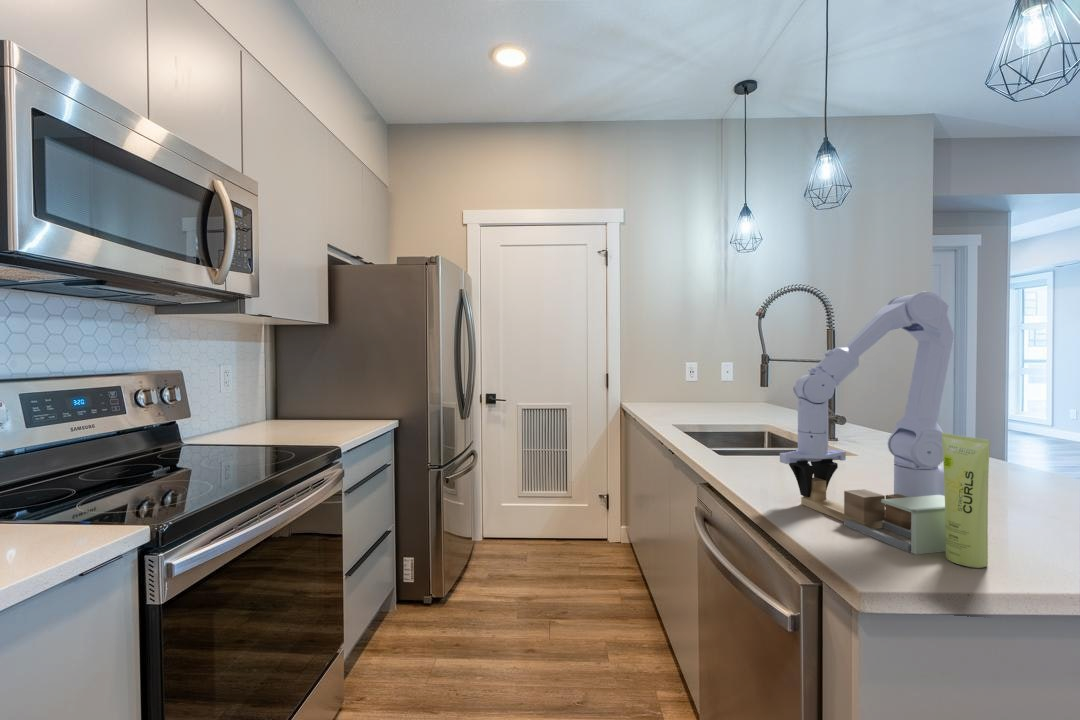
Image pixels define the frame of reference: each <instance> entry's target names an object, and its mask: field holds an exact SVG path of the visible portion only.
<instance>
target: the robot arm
mask: <svg viewBox="0 0 1080 720" xmlns="http://www.w3.org/2000/svg"><path fill="white" fill-rule="evenodd" d="M948 310H949V304H948V303H947V302H946V301H944V299H942V297H940V295H938V294H936V293H935V292H933V291H920V292H917V293H914V294H908V295H900V296H896V297H894V298H892V299H890V300H889V302H888V303H887V304H886V305H884V306H882V307H880V309H879V310H878V311H877V312H876V313H875V315H874V316H873V317H872V318H871V319H870V320H869V321H868V322H867V323H866V324H865V325H864V326H863V327H862V328H861V330H859V331H858V333H857V334H855V335H854V336H853V338H852V339H851V340H850V341H849V342H848V343H847V344H846V345H845V346H844V347H843V346H841V347H838V346H837V347H834V348H833V349H828V350H826V351H825V352H824V355H825V356H824V357H823V359H822V360H820V361H819V362H818V363H817V364H816V365H815V366H814V367H813V366H812V367H810V368H809V369H808V372H809V374H805V375H804V374H803V375H802V376H800V377H799V378H798V379H797V380H796V381H795V385H794V386H793V387H792V390H793V393H794V395H795V396H796V397H797V448H796V450H793V451H787V452H780V453H779V463H782V464H785V465H788V466H789V467H790V469H791V471H792V472H793V475H794V477H795V479H796V482H797V485H798V488H799V493H800V495H801V497H803V496H805V497H810V496H811V483H812V477H816V478H819V479H822V480H825V481H826V491H828V490H827V489H828V486H829V484H830V481H831V479H832V477H833V475H834V473H835V472H836V470H837V469H838V467H839V465H838V463H837V462H834V461H846V455H847V454H846V451H844V450H841V449H829V400H830V399H832V398H833V395H834V393H835V389H836V388H837V387H838V386H839V385H840V384H841V383H842V382H843V381H844V380H845V379H847V378H848V376H850V375H851V374H852V373H853V372H854V371H856V369H858V368H859V365H860V356H862V355H863V354H864V353H865V352H867V351H868V350H869V349H870V348H871V347H872V346H874V345H875V344H876V343H877V342H878V341H879V340H881V339H882V338H883V337H884V336H885V335H887V334H888V333H889V332H891V331H895V330H898V329H902V330H904V331H906V332H908V334H910V336H912V337H913V338H914V339H915V340H916V341H917V342H918V343H917V348H916V349H917V350H916V355H915V360H914V365H913V369H912V375H911V379H910V380H911V381H910V385H909V391H908V395H907V396H908V397H907V400H906V401H907V402H906V405H905V406H906V407H905V411H904V416H903V417H902V418H900V419H899V420H898V422H896V423H895V429H894V431H893V432H892V433H891V434H890V436H889V438H888V440H887V448H888V450H889V452H890V453H891V454H892V455H893V458H894V459H893V494H900V495H904V496H907V497H918V496H931V495H943V496H945V490H944V466H941V464H942V463H943V445H942V433H944V431H943V430H942V428H941V426H940V425H939V423H938V418H939V412H940V408H941V404H942V403H941V402H942V398H943V392H944V387H945V383H946V378H947V372H948V369H949V368H948V366H949V363H950V362H949V361H950V358H951V352H952V347H953V342H954V335H955V334H954V331H953V329H952V325H951V322H950V320H949V316H948ZM809 462H810V463H809Z"/></svg>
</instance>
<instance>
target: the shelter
mask: <svg viewBox="0 0 1080 720" xmlns="http://www.w3.org/2000/svg"><path fill="white" fill-rule="evenodd" d="M881 502H882V503H885V505H886V504H888V505H890V506H893V507H896V508H899V509H902V510H905V511H908V512H911V538H910V541H911V543H910V544H911V552H910V553H912V554H914V555H922V554H930V553H931V554H933V553H941V552H946V531H945V496H943V495H931V496H918V497H906V498H894V499H886V498H885V499H882V500H881Z"/></svg>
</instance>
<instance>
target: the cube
mask: <svg viewBox="0 0 1080 720" xmlns="http://www.w3.org/2000/svg"><path fill="white" fill-rule="evenodd" d="M843 496H844V498H843V500H844V501H843V503H844V504H843V505H844V514H845V515H847V516H850V517H852V518H855V519H857V520H860V521H862V522H871V521H882V520H885V510H886V504H885V503H882V502H881V500H882V499H886V495H883V494H881V493H877V492H874V491H871V490H867V489H853V490H843Z"/></svg>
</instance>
